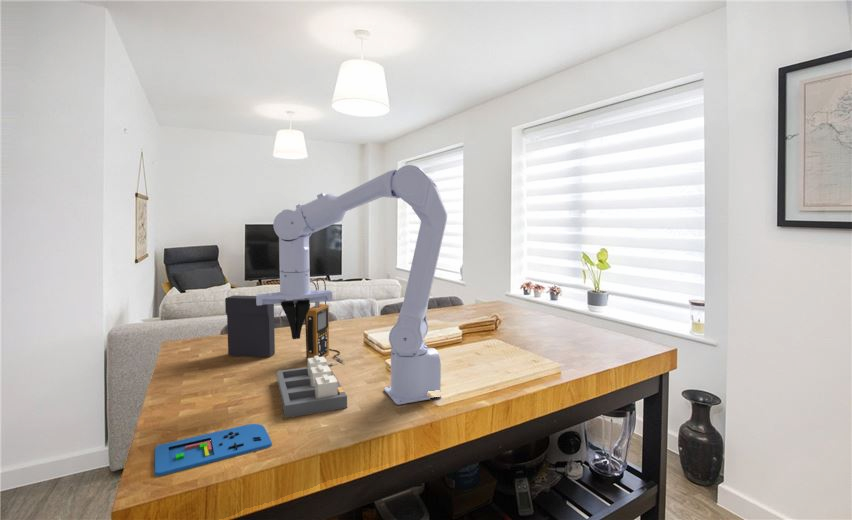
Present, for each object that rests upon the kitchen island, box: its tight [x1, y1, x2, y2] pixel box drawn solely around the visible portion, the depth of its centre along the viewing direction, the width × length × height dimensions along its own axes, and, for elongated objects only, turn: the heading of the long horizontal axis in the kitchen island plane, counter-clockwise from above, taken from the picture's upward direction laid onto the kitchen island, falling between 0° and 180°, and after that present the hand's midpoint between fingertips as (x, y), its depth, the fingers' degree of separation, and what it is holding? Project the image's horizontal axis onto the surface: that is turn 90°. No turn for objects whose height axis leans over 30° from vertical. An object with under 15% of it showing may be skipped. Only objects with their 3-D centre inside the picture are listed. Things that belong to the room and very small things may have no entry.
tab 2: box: [310, 365, 332, 386], centre depth 83 cm, size 4×4×4 cm
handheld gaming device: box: [154, 423, 273, 477], centre depth 62 cm, size 8×1×15 cm
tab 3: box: [315, 374, 339, 398], centre depth 78 cm, size 4×4×4 cm
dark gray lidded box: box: [224, 295, 276, 358], centre depth 105 cm, size 11×4×15 cm, turn 84°
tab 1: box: [307, 356, 328, 376], centre depth 89 cm, size 4×4×4 cm
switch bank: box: [276, 365, 348, 419], centre depth 82 cm, size 11×18×2 cm, turn 24°
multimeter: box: [304, 277, 347, 367], centre depth 102 cm, size 15×10×20 cm
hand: (295, 337), depth 84 cm, fingers closed
